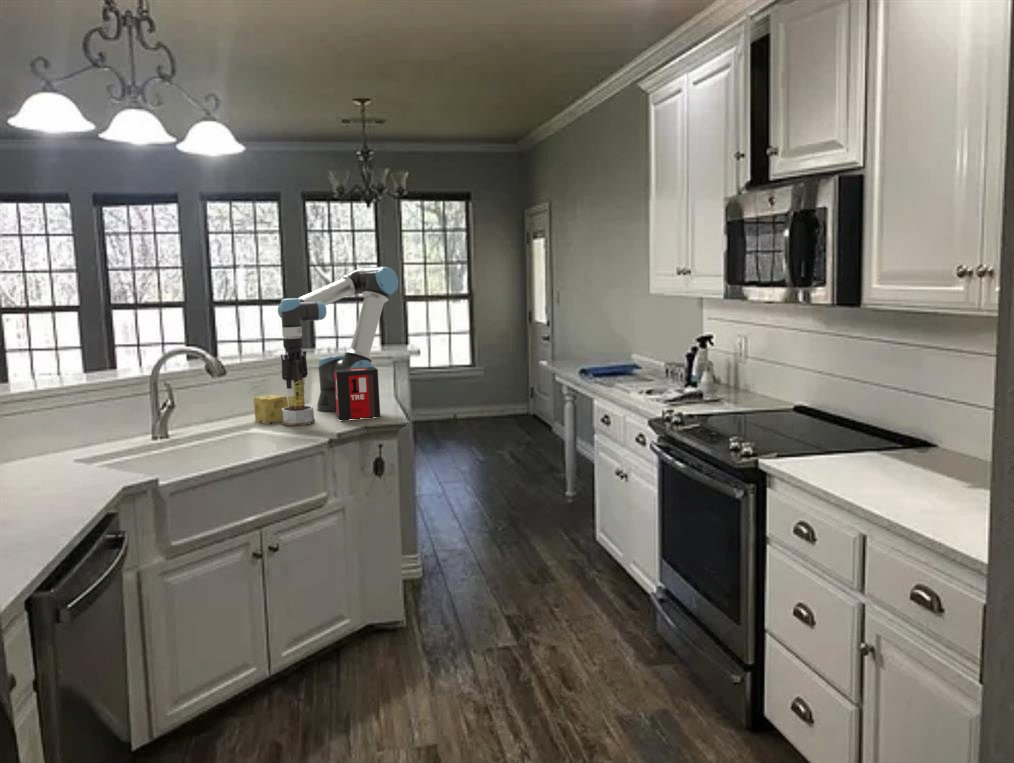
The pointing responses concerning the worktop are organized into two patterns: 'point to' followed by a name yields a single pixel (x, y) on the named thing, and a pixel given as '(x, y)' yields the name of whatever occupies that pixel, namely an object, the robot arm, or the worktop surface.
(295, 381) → the sauce bottle
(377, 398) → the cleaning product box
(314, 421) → the duct base
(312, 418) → the collar
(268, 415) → the cheese
